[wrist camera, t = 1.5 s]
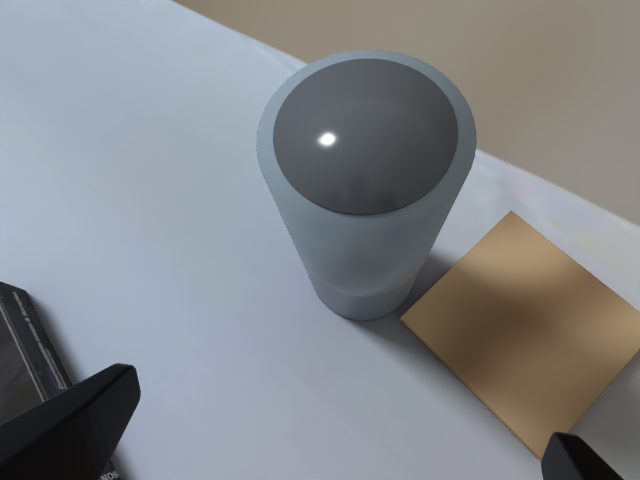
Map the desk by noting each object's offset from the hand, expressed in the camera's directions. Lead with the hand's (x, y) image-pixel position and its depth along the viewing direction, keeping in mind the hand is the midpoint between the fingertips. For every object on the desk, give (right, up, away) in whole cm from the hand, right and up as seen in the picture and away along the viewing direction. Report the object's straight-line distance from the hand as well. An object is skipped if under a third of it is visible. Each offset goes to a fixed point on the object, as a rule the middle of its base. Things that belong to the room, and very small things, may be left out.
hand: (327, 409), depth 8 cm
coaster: (+11, -1, +13) cm, 16 cm away
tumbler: (+2, +2, +15) cm, 15 cm away
